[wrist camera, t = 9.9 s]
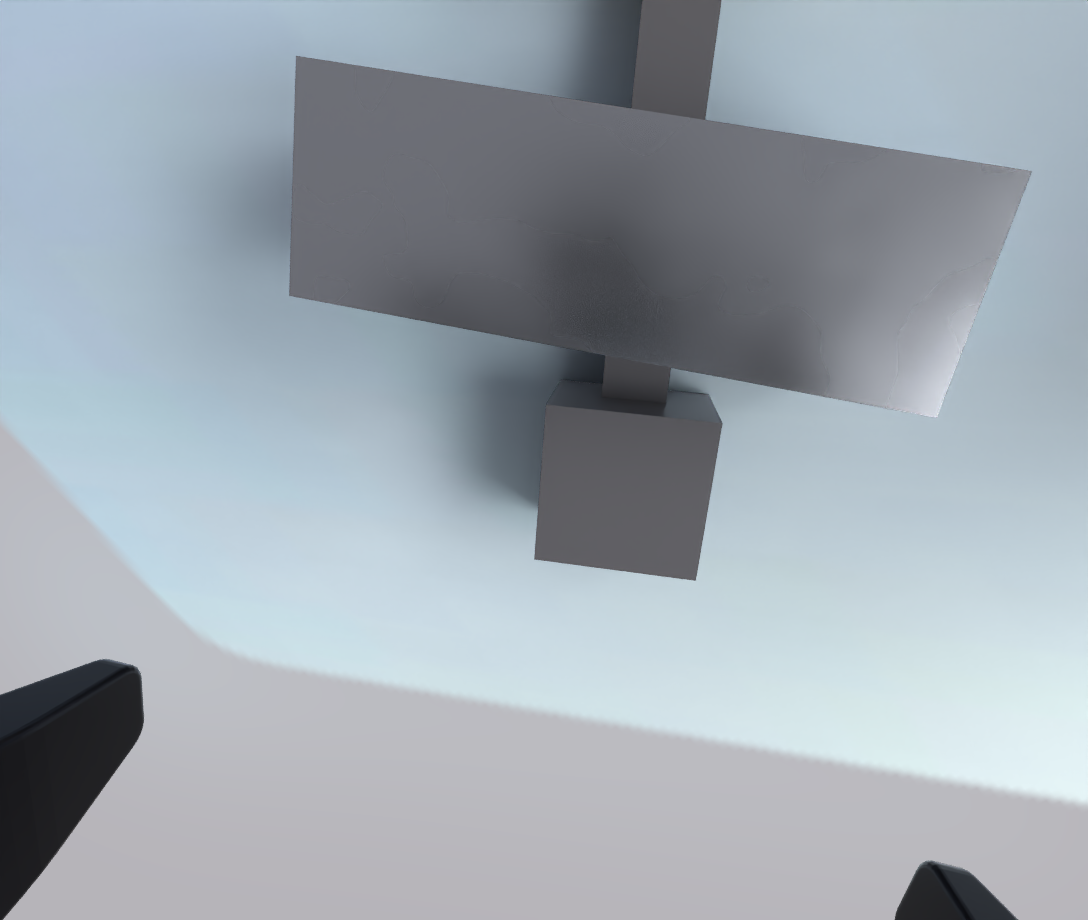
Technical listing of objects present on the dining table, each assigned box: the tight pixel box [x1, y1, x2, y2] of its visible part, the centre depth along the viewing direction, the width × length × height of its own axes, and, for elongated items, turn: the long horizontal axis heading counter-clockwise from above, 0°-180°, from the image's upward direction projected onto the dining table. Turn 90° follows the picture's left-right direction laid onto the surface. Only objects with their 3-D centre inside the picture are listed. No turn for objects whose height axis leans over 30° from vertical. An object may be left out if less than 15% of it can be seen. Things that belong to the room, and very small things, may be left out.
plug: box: [534, 0, 722, 581], centre depth 14 cm, size 4×17×3 cm, turn 175°
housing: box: [289, 56, 1032, 418], centre depth 14 cm, size 12×4×6 cm, turn 80°
